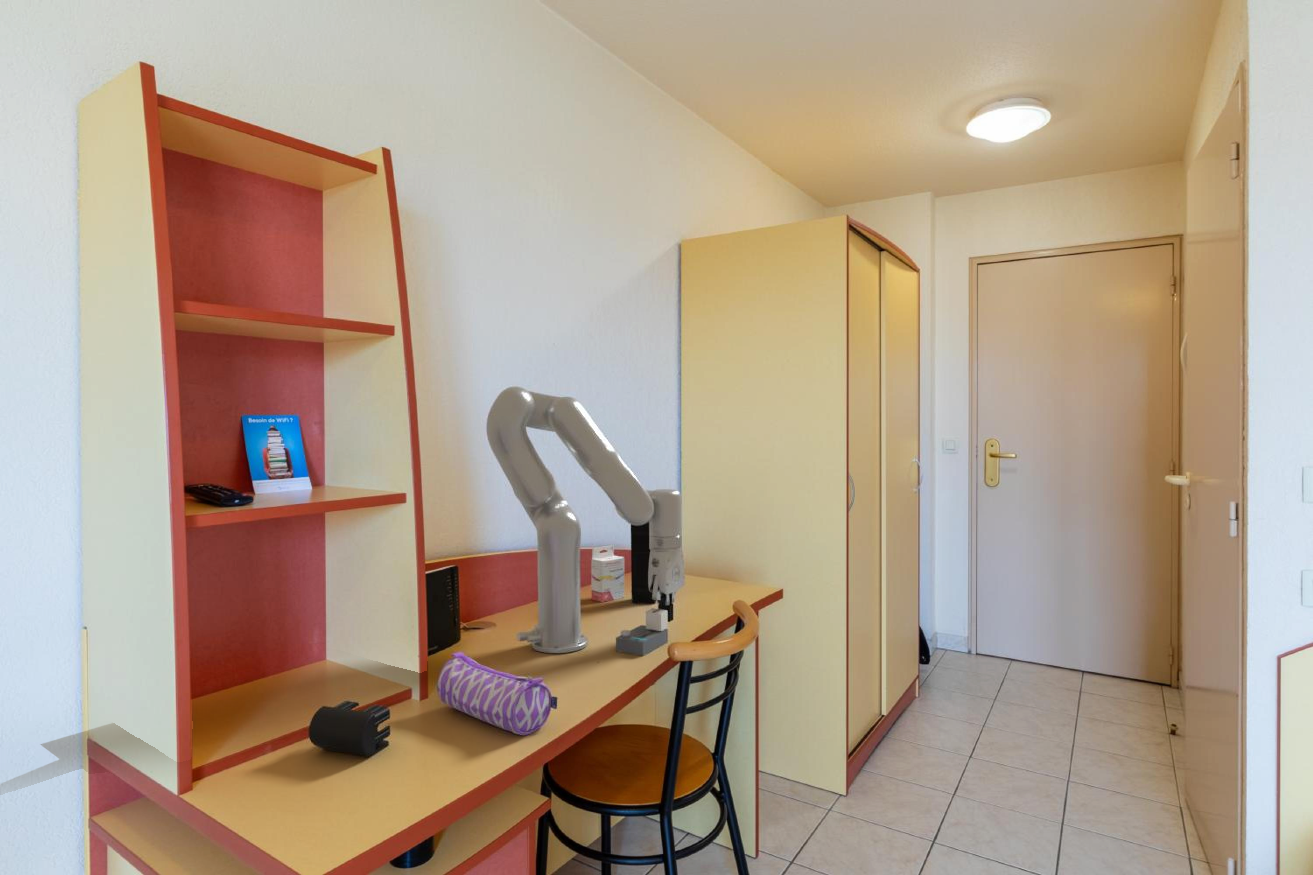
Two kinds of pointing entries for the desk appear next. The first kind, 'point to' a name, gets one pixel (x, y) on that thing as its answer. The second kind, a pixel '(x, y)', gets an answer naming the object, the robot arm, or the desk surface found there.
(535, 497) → the robot arm
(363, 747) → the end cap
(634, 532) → the portable radio
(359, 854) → the desk surface
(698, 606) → the desk surface
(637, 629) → the console
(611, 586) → the ink cartridge box
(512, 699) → the pencil case
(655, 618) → the block
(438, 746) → the desk surface
